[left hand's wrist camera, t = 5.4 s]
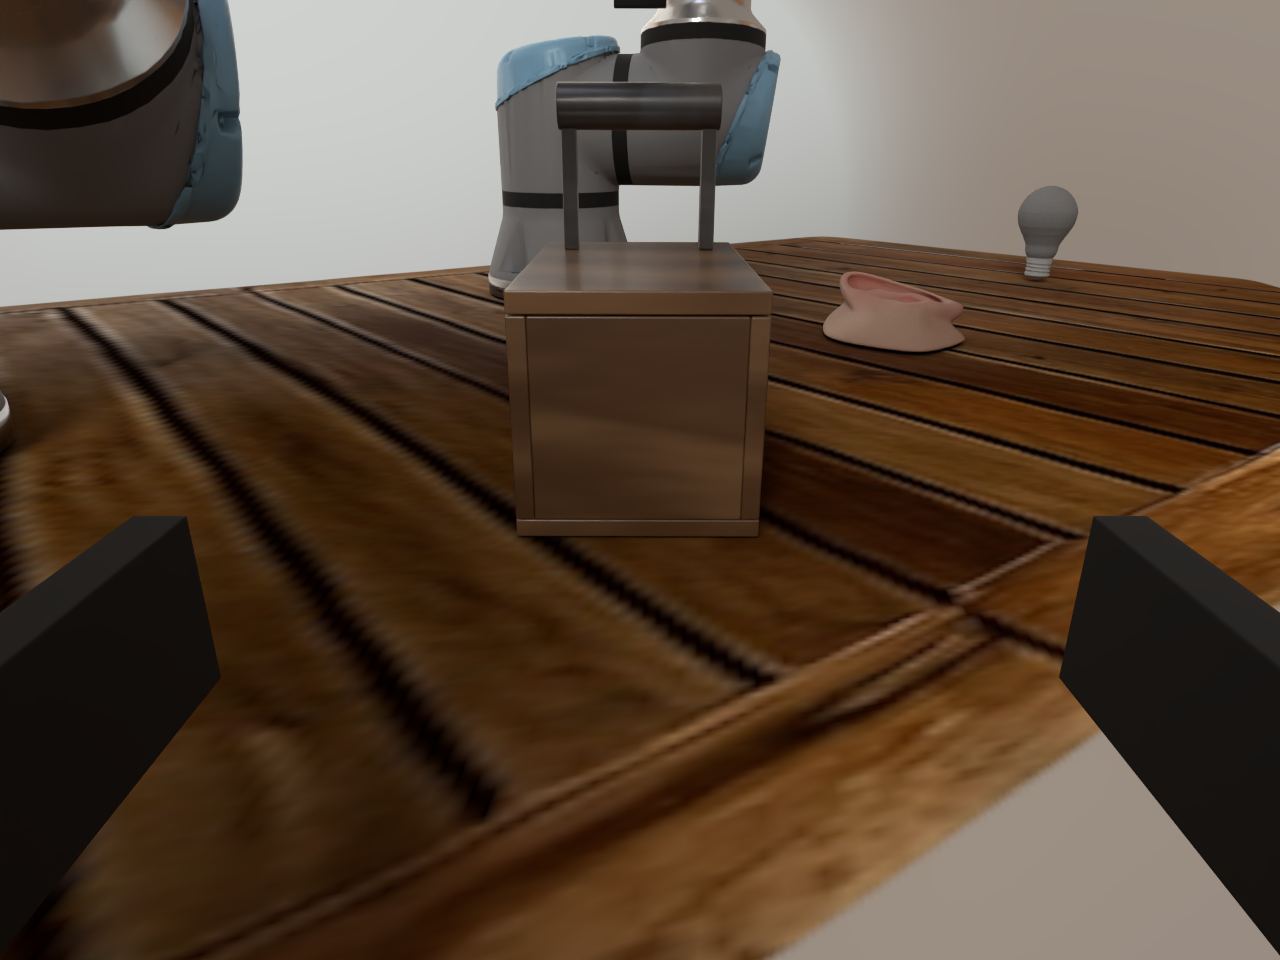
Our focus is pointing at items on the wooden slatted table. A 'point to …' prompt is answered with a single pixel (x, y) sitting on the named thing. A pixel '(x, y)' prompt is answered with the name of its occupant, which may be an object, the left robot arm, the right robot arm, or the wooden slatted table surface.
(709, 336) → the chest
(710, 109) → the lid
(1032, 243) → the light bulb
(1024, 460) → the wooden slatted table surface
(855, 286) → the anatomical model
